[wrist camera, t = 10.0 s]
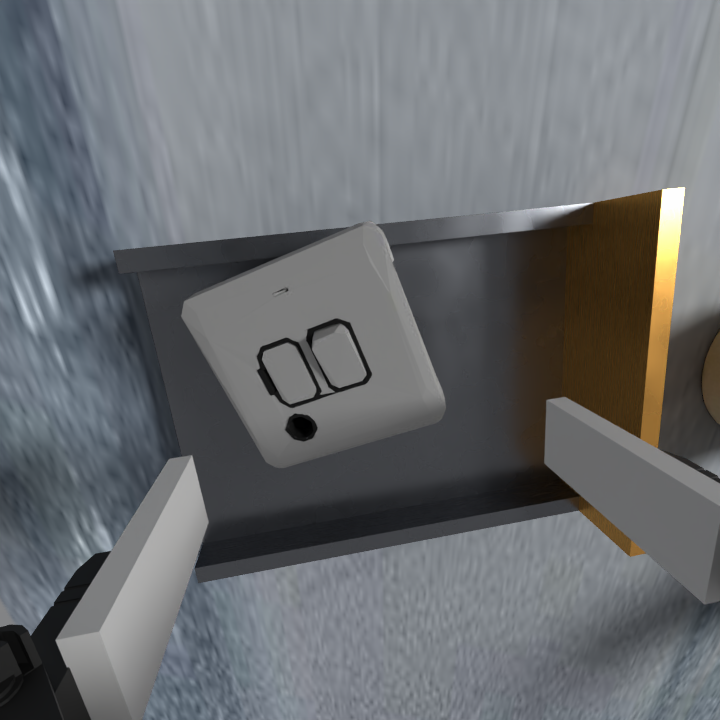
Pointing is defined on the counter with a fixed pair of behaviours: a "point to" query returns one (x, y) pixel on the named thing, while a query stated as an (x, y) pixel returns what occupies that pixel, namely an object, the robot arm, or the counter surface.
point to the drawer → (454, 372)
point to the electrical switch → (318, 348)
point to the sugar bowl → (712, 379)
